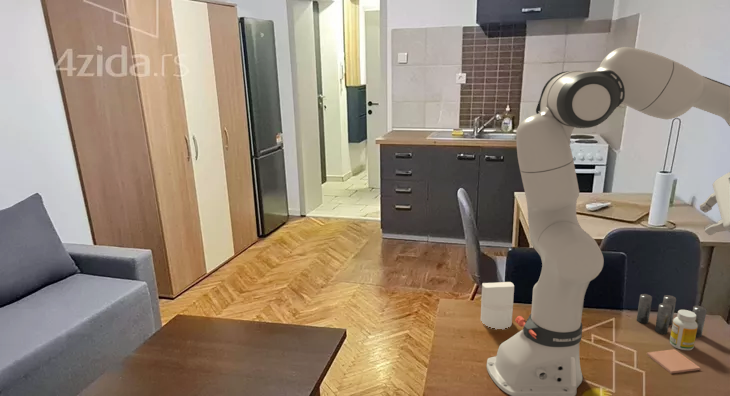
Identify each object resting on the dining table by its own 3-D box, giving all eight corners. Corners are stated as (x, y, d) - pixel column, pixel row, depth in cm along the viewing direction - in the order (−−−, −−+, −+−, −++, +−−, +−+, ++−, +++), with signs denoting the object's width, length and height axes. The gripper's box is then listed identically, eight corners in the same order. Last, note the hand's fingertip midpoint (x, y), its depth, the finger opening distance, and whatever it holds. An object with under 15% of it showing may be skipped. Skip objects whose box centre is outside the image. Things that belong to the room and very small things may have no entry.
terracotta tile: (670, 373, 111) (671, 371, 111) (646, 354, 119) (646, 352, 119) (699, 369, 112) (700, 367, 112) (673, 351, 120) (674, 349, 120)
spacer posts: (665, 341, 124) (670, 314, 122) (634, 318, 136) (637, 294, 134) (704, 336, 126) (709, 310, 124) (670, 315, 138) (674, 290, 135)
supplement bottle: (666, 344, 123) (671, 312, 120) (673, 337, 126) (679, 306, 124) (689, 353, 119) (695, 320, 116) (696, 346, 122) (702, 313, 119)
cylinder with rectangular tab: (505, 313, 141) (507, 277, 138) (516, 328, 132) (519, 291, 129) (476, 314, 141) (478, 278, 137) (485, 330, 132) (487, 292, 129)
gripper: (743, 153, 106) (689, 189, 116) (762, 199, 91) (697, 236, 100) (765, 170, 106) (709, 205, 115) (787, 218, 91) (721, 254, 100)
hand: (704, 220), depth 108 cm, fingers open, 8 cm apart
